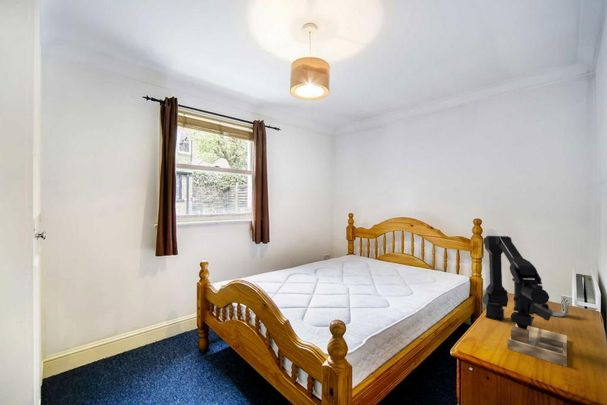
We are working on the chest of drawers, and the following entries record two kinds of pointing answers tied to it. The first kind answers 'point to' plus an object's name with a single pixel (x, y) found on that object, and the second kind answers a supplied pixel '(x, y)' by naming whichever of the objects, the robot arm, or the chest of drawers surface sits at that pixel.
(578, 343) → the chest of drawers surface
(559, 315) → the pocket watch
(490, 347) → the chest of drawers surface
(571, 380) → the chest of drawers surface
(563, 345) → the board
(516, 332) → the walnut block
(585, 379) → the chest of drawers surface
